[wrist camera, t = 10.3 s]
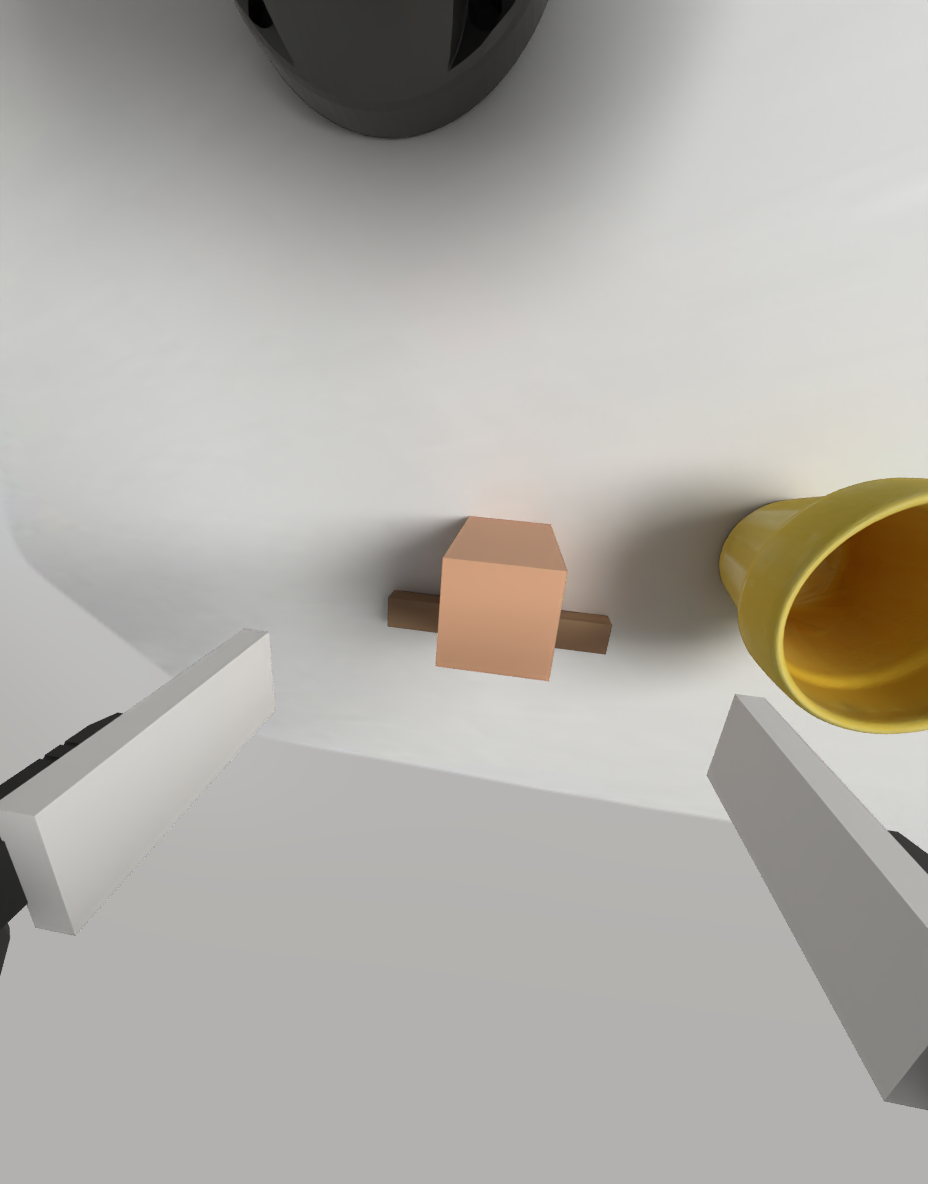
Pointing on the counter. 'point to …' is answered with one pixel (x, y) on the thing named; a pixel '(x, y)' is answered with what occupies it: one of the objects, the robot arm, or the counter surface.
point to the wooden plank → (571, 633)
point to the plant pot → (839, 601)
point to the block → (501, 599)
